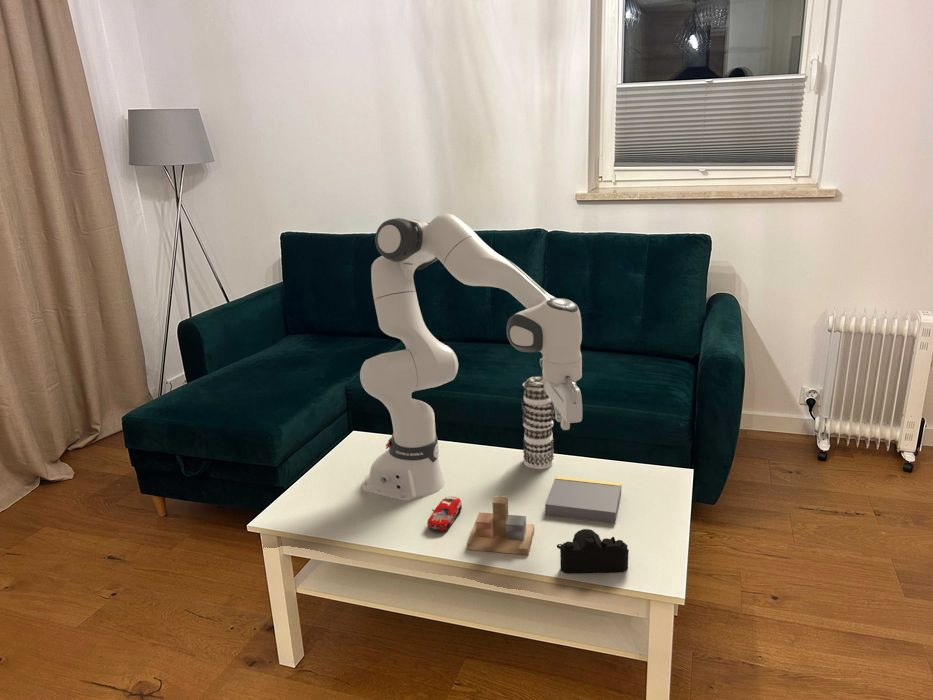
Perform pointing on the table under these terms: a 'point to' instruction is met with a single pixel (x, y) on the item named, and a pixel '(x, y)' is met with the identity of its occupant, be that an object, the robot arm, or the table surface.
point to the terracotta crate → (484, 525)
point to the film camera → (593, 554)
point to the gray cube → (516, 527)
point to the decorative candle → (537, 424)
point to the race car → (445, 513)
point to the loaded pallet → (501, 542)
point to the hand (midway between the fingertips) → (562, 424)
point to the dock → (584, 499)
